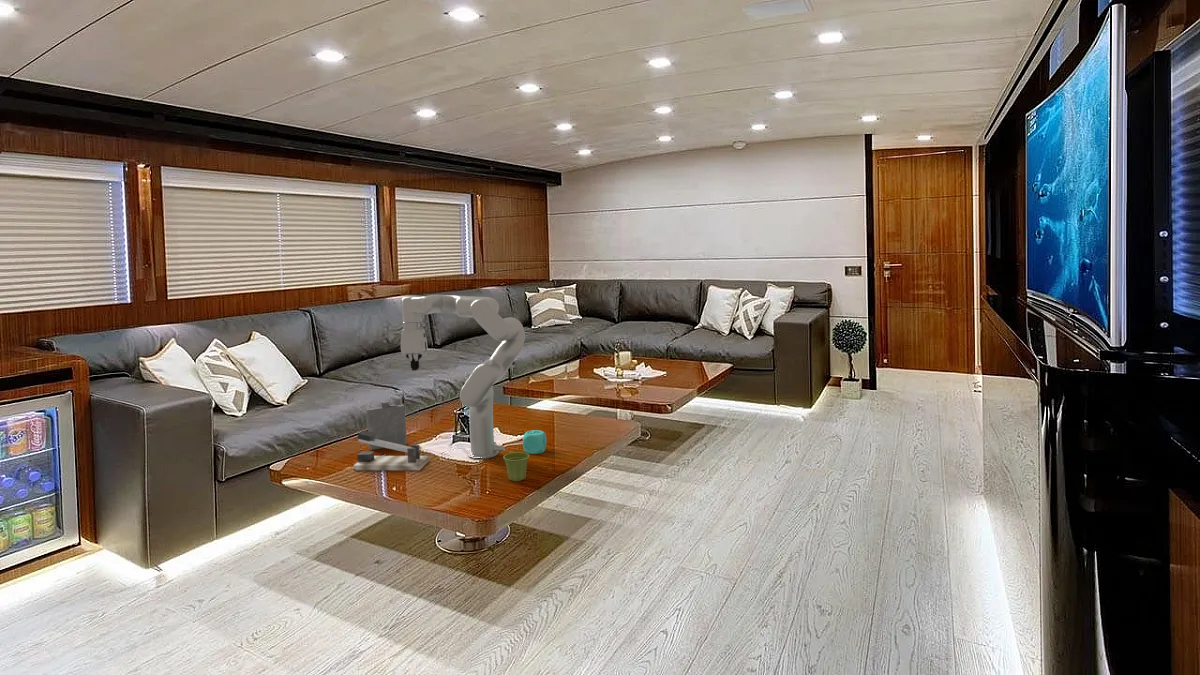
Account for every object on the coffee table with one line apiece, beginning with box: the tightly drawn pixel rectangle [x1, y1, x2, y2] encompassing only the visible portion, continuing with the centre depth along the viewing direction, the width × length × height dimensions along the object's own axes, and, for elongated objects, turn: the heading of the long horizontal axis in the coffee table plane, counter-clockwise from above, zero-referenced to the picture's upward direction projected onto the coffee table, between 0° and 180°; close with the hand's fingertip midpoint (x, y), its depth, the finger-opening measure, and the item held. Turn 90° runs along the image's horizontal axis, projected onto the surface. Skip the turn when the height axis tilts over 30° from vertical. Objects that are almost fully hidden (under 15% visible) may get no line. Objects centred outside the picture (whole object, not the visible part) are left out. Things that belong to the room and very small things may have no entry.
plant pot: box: [503, 451, 530, 482], centre depth 244 cm, size 9×9×9 cm
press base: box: [353, 444, 430, 471], centre depth 262 cm, size 26×12×8 cm, turn 86°
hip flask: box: [366, 400, 408, 451], centre depth 288 cm, size 16×4×20 cm, turn 117°
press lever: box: [356, 430, 414, 454], centre depth 262 cm, size 22×5×4 cm, turn 87°
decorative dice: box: [522, 429, 547, 455], centre depth 277 cm, size 8×8×8 cm
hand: (415, 369), depth 276 cm, fingers closed
